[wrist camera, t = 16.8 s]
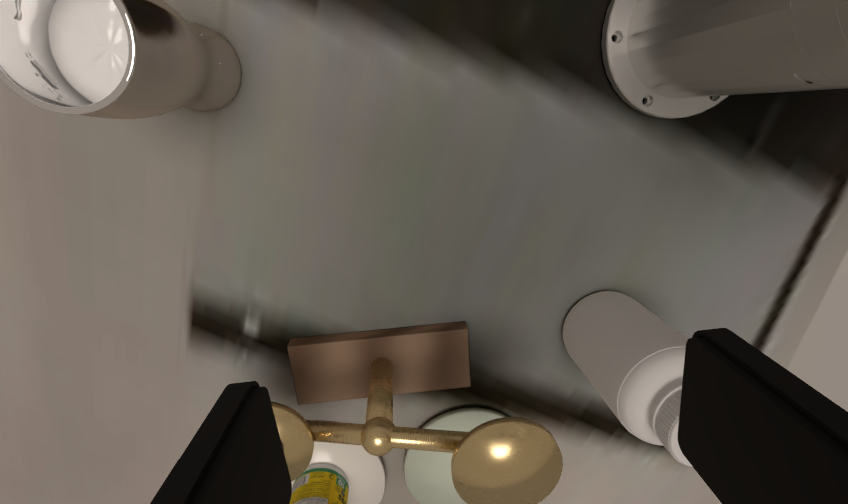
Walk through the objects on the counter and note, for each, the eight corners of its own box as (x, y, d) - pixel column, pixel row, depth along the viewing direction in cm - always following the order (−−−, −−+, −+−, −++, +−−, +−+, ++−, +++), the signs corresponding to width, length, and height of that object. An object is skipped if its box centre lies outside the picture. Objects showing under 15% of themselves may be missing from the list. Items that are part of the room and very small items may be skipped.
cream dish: (378, 413, 43) (377, 422, 42) (391, 515, 47) (391, 527, 46) (243, 427, 43) (238, 437, 41) (268, 530, 47) (264, 542, 45)
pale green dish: (529, 397, 44) (533, 406, 43) (529, 499, 48) (533, 510, 46) (398, 411, 43) (398, 420, 42) (409, 513, 47) (410, 525, 46)
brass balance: (504, 312, 41) (563, 417, 27) (505, 377, 43) (561, 507, 29) (248, 337, 40) (169, 460, 26) (262, 403, 42) (196, 550, 28)
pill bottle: (655, 334, 43) (788, 444, 28) (584, 377, 44) (677, 505, 29) (619, 271, 40) (743, 357, 26) (544, 319, 41) (625, 426, 27)
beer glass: (212, 136, 35) (86, 152, 20) (132, 72, 33) (-67, 39, 19) (266, 66, 33) (172, 30, 19) (186, -5, 32) (17, -103, 17)
